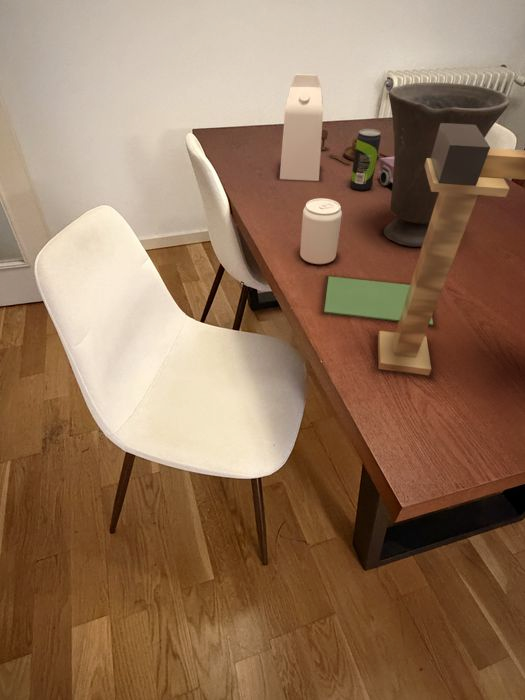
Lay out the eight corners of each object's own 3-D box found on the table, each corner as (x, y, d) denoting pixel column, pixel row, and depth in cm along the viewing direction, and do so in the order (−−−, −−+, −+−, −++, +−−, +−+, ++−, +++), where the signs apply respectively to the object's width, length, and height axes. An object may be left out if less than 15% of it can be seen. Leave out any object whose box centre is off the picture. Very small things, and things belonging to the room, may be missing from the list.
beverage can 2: (375, 189, 118) (386, 133, 107) (357, 193, 116) (367, 136, 105) (362, 181, 122) (372, 127, 111) (345, 185, 120) (353, 130, 109)
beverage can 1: (293, 252, 92) (296, 202, 84) (322, 244, 95) (328, 194, 86) (312, 270, 87) (317, 217, 79) (342, 260, 90) (351, 209, 81)
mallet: (568, 167, 48) (587, 130, 45) (595, 194, 43) (618, 154, 40) (430, 158, 50) (440, 122, 47) (438, 183, 45) (450, 144, 42)
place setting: (350, 167, 130) (353, 147, 126) (315, 148, 143) (317, 130, 138) (391, 158, 136) (395, 139, 132) (354, 141, 149) (357, 123, 144)
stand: (424, 342, 71) (493, 162, 49) (428, 375, 65) (510, 188, 44) (377, 336, 72) (426, 157, 50) (378, 369, 66) (433, 182, 45)
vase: (472, 237, 97) (530, 93, 76) (422, 270, 87) (473, 114, 66) (397, 207, 109) (429, 75, 88) (345, 233, 99) (367, 91, 78)
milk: (319, 166, 130) (328, 70, 112) (318, 180, 122) (328, 79, 104) (282, 165, 131) (285, 69, 113) (279, 179, 123) (282, 78, 105)
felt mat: (426, 288, 82) (426, 286, 82) (432, 325, 74) (433, 324, 74) (328, 277, 85) (328, 276, 85) (323, 312, 76) (324, 311, 76)
